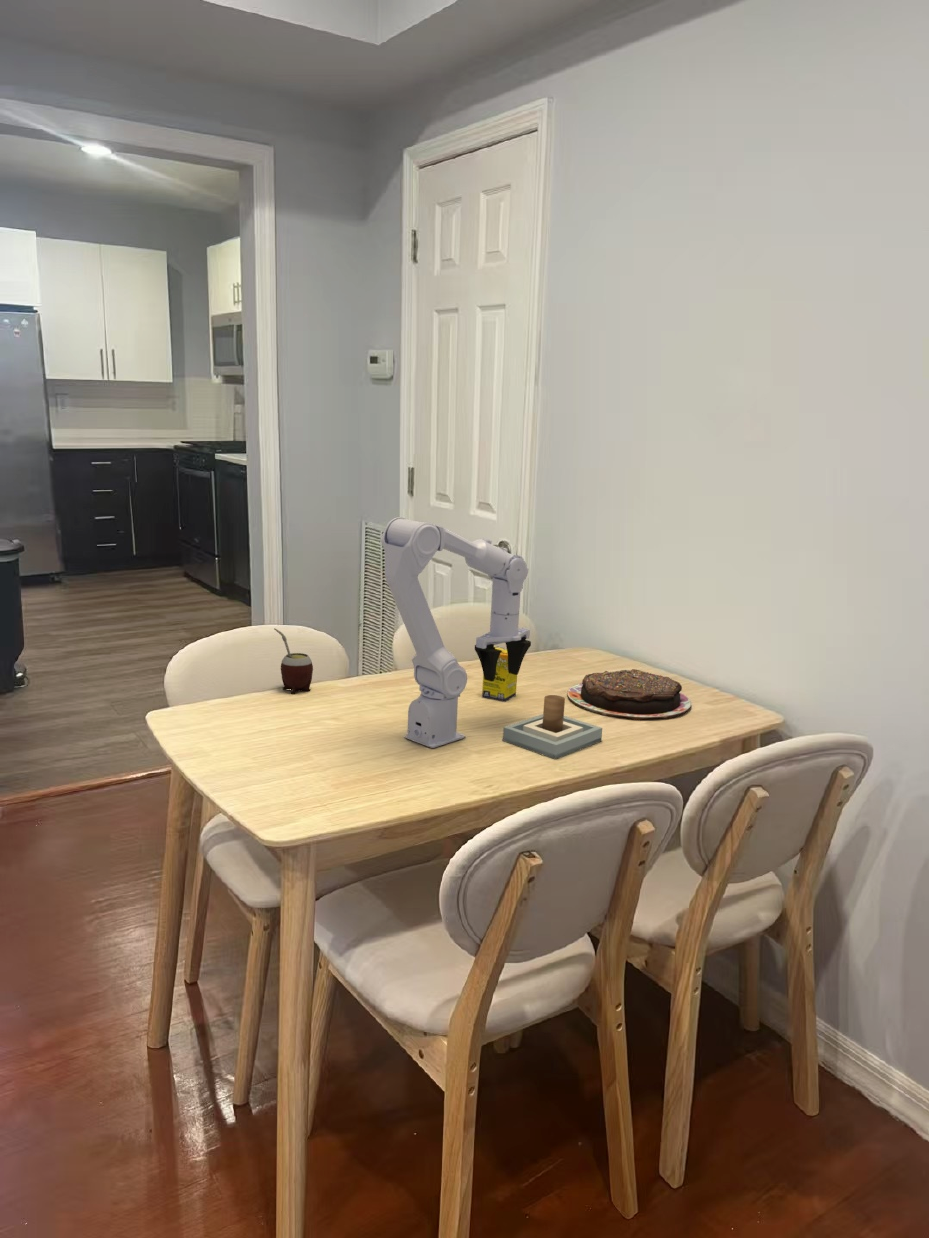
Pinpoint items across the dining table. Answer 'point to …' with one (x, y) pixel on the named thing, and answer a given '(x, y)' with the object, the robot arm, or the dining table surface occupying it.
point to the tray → (548, 747)
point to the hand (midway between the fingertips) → (501, 676)
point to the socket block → (567, 731)
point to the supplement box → (501, 680)
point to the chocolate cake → (630, 695)
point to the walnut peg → (553, 713)
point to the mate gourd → (296, 670)
